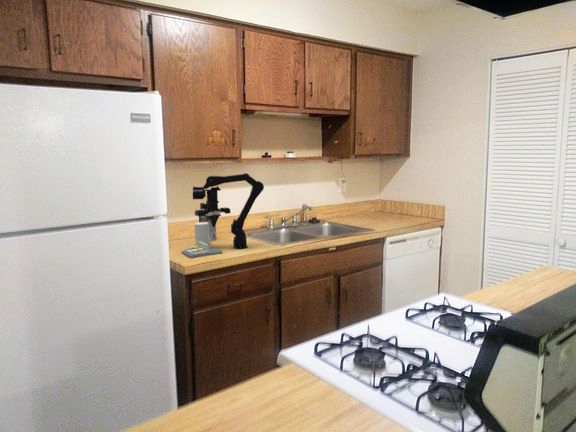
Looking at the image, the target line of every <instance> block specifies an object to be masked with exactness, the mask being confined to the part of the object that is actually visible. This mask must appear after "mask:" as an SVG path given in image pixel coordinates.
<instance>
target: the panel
mask: <svg viewBox="0 0 576 432" xmlns="http://www.w3.org/2000/svg"><path fill="white" fill-rule="evenodd" d="M209 247H210V244H209V245H208V244H205V243H203V242H201V241H198V248H203V251H197V249H194V248H192V247H187V248H183V251H186V252H187V253H189V254H191V255H196V254H203V253H209Z"/></svg>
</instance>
